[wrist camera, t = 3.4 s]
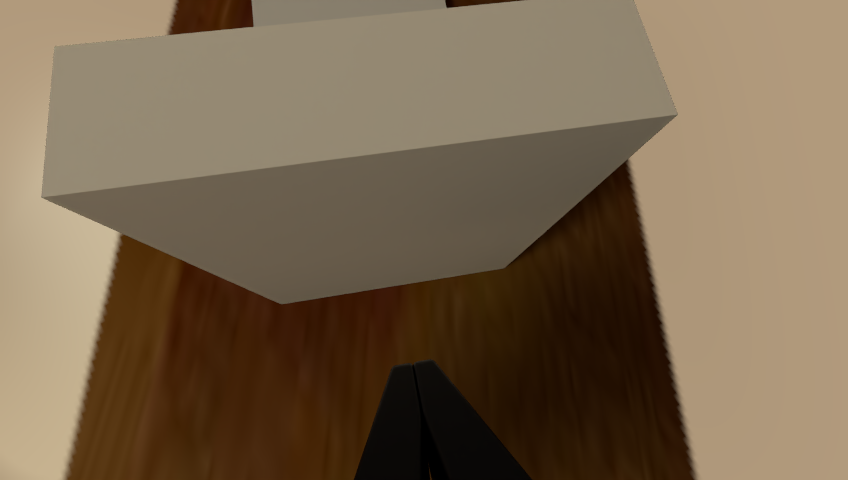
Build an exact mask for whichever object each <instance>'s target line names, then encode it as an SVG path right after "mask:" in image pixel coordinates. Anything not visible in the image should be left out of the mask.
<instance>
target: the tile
mask: <svg viewBox="0 0 848 480" xmlns="http://www.w3.org/2000/svg"><path fill="white" fill-rule="evenodd" d="M677 115H678V114H677V111H676V108H675V106H674V103H673V101H672V98H671V95H670V93H669V90H668V88H667V85H666V83H665V80H664V77H663V75H662V72H661V70H660V67H659V65H658V62H657V59H656V57H655V54H654V52H653V49H652V46H651V44H650V41H649V39H648V36H647V33H646V31H645V28H644V26H643V23H642V21H641V18H640V15H639V13H638V11H637V8H636V5H635V2H634V0H525V1H515V2H505V3H494V4H484V5H474V6H464V7H454V8H443V9H433V10H423V11H413V12H402V13H392V14H382V15H372V16H362V17H351V18H341V19H331V20H321V21H310V22H300V23H290V24H280V25H269V26H259V27H249V28H239V29H229V30H218V31H208V32H198V33H188V34H177V35H167V36H158V37H148V38H137V39H126V40H116V41H106V42H96V43H85V44H75V45H65V46H55V47H54V57H53V70H52V80H51V92H50V104H49V116H48V126H47V138H46V150H45V162H44V174H43V184H42V196H41V197H42V198H44V199H46V200H48V201H50V202H53V203H55V204H57V205H59V206H62V207H64V208H66V209H68V210H71V211H73V212H75V213H78V214H80V215H82V216H84V217H86V218H89V219H91V220H93V221H95V222H98V223H100V224H102V225H104V226H107V227H109V228H111V229H113V230H116V231H118V232H120V233H122V234H125V235H127V236H129V237H131V238H134V239H136V240H138V241H140V242H143V243H145V244H147V245H149V246H152V247H154V248H156V249H158V250H161V251H163V252H165V253H167V254H170V255H172V256H174V257H176V258H179V259H181V260H183V261H185V262H188V263H190V264H192V265H194V266H197V267H199V268H201V269H203V270H206V271H208V272H210V273H212V274H215V275H217V276H219V277H221V278H224V279H226V280H228V281H230V282H232V283H235V284H237V285H239V286H241V287H244V288H246V289H248V290H250V291H253V292H255V293H257V294H259V295H262V296H264V297H266V298H268V299H271V300H273V301H275V302H277V303H280V304H286V303H292V302H298V301H304V300H310V299H317V298H323V297H329V296H335V295H341V294H347V293H354V292H360V291H366V290H372V289H378V288H385V287H391V286H397V285H403V284H409V283H415V282H422V281H428V280H434V279H440V278H446V277H452V276H459V275H465V274H471V273H477V272H483V271H489V270H496V269H502V268H505V267H506V266H507V265H508V264H510V263H511V262H512V261H513V260H514V259H515V258H516V257H517V256H519V255H520V254H521V253H522V252H523V251H524V250H525V249H527V248H528V247H529V246H530V245H531V244H532V243H533V242H534V241H536V240H537V239H538V238H539V237H540V236H541V235H542V234H543V233H545V232H546V231H547V230H548V229H549V228H550V227H551V226H553V225H554V224H555V223H556V222H557V221H558V220H559V219H560V218H562V217H563V216H564V215H565V214H566V213H567V212H568V211H569V210H571V209H572V208H573V207H574V206H575V205H576V204H577V203H578V202H580V201H581V200H582V199H583V198H584V197H585V196H586V195H588V194H589V193H590V192H591V191H592V190H593V189H594V188H595V187H597V186H598V185H599V184H600V183H601V182H602V181H603V180H604V179H606V178H607V177H608V176H609V175H610V174H611V173H612V172H614V171H615V170H616V169H617V168H618V167H619V166H620V165H621V164H623V163H624V162H625V161H626V160H627V159H628V158H629V157H630V156H632V155H633V154H634V153H635V152H636V151H637V150H638V149H639V148H641V147H642V146H643V145H644V144H645V143H646V142H647V141H648V140H650V139H651V138H652V137H653V136H654V135H655V134H656V133H658V132H659V131H660V130H661V129H662V128H663V127H664V126H665V125H666V124H668V123H669V122H670V121H671V120H672V119H673V118H674V117H676V116H677Z"/></svg>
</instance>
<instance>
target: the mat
mask: <svg viewBox="0 0 848 480" xmlns="http://www.w3.org/2000/svg"><path fill="white" fill-rule="evenodd" d="M252 8H253V22H254V27H259V26H269V25H280V24H290V23H300V22H310V21H321V20H331V19H341V18H351V17H362V16H372V15H382V14H392V13H402V12H413V11H423V10H433V9H443V8H447V7H446V3H445V0H252Z"/></svg>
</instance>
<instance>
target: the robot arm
mask: <svg viewBox="0 0 848 480" xmlns="http://www.w3.org/2000/svg"><path fill="white" fill-rule="evenodd" d="M427 458H428V459H427ZM428 464H429V466H428ZM429 469H430V474H431V478H432V480H532V479H531V478H530V477H529V475H528V474H527V473H526V472H525V470H524V469H523V468H522V467H521V466H520V464H519V463H518V462H517V461H516V460H515V458H514V457H513V456H512V455H511V453H510V452H509V451H508V450H507V449H506V447H505V446H504V445H503V444H502V443H501V441H500V440H499V439H498V438H497V436H496V435H495V434H494V433H493V432H492V430H491V429H490V428H489V427H488V426H487V424H486V423H485V422H484V421H483V419H482V418H481V417H480V416H479V415H478V413H477V412H476V411H475V410H474V409H473V407H472V406H471V405H470V404H469V402H468V401H467V400H466V399H465V398H464V396H463V395H462V394H461V393H460V392H459V390H458V389H457V388H456V387H455V386H454V384H453V383H452V382H451V381H450V379H449V378H448V377H447V376H446V375H445V373H444V372H443V371H442V370H441V369H440V367H439V366H438V365H437V364H436V362H435V361H433V360H431V359H429V360H424V361H418V362H415V363H414V365H412V364H411V363H407V364H401V365H396V366H393V367H392V369H391V372H390V375H389V378H388V380H387V383H386V386H385V389H384V392H383V395H382V398H381V401H380V404H379V407H378V410H377V413H376V416H375V419H374V422H373V425H372V428H371V431H370V434H369V437H368V440H367V442H366V445H365V448H364V451H363V454H362V457H361V460H360V463H359V466H358V469H357V472H356V475H355V478H354V480H430V474H429Z"/></svg>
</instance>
